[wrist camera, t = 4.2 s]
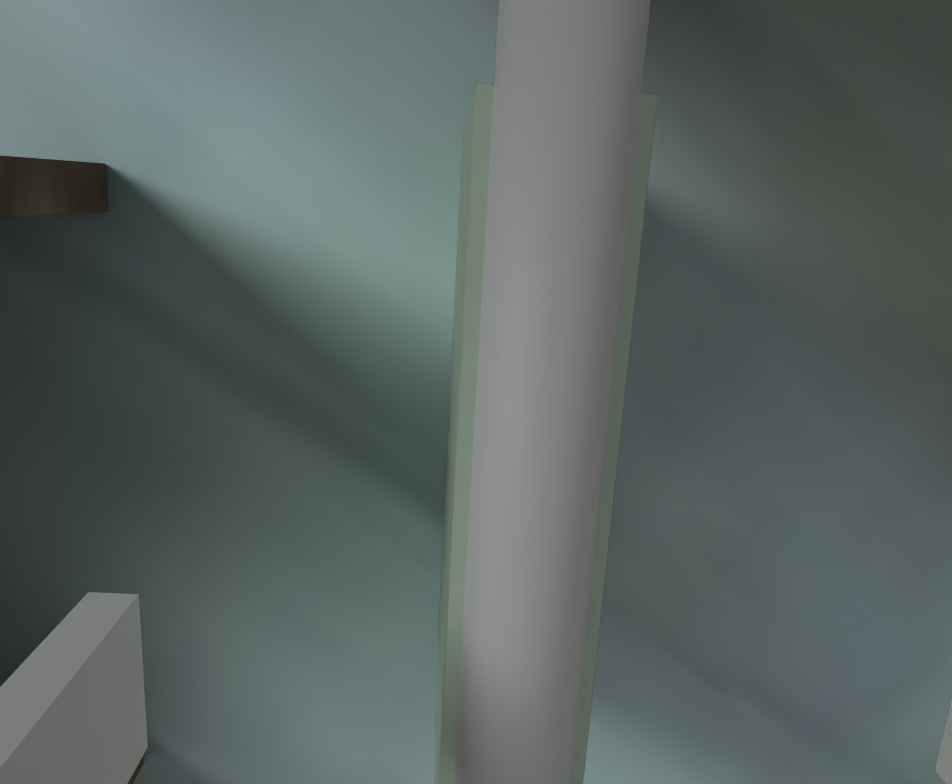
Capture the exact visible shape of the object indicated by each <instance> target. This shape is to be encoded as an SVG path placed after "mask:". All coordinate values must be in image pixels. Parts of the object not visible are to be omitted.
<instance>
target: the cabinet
mask: <svg viewBox="0 0 952 784" xmlns="http://www.w3.org/2000/svg"><path fill="white" fill-rule="evenodd" d="M104 211H108V201H107V185H106V170H105V164H103V163H89V162H76V161H63V160H50V159H37V158H24V157H11V156H0V218H7V217H23V216H39V215H56V214H72V213H88V212H104ZM143 763H144V762H143V757H142V758H141V760H140V762H139V764H138V766H137V767H136V769H135V771H134V773H133V775H132V776H131V778H130V780H129V782H128V784H133V782H134V780H135V778H136V776H137V775H138V773H139V771H140V769H141V767H142V765H143Z"/></svg>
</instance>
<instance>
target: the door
mask: <svg viewBox="0 0 952 784" xmlns="http://www.w3.org/2000/svg"><path fill="white" fill-rule="evenodd" d="M650 4H651V0H499V7H498V24H497V41H496V59H495V76H494V84H485V83H476V84H475V88H474V92H473V96H472V100H471V104H470V108H469V112H468V116H467V120H466V124H465V128H464V132H463V136H462V154H461V174H460V195H459V215H458V236H457V257H456V277H455V298H454V319H453V339H452V360H451V381H450V401H449V422H448V443H447V463H446V484H445V504H444V525H443V546H442V566H441V587H440V608H439V630H438V672H437V714H436V756H435V784H583V778H584V769H585V760H586V750H587V741H588V732H589V723H590V713H591V704H592V695H593V686H594V676H595V667H596V658H597V649H598V639H599V630H600V621H601V612H602V602H603V593H604V584H605V575H606V565H607V556H608V547H609V538H610V528H611V519H612V510H613V501H614V491H615V482H616V473H617V464H618V454H619V445H620V436H621V427H622V417H623V408H624V399H625V390H626V380H627V371H628V362H629V353H630V343H631V334H632V325H633V316H634V306H635V297H636V288H637V279H638V269H639V260H640V251H641V242H642V232H643V223H644V214H645V205H646V195H647V186H648V177H649V168H650V158H651V149H652V140H653V131H654V121H655V112H656V103H657V95H656V94H641V91H642V82H643V72H644V62H645V52H646V43H647V33H648V23H649V14H650Z"/></svg>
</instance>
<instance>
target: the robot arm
mask: <svg viewBox="0 0 952 784" xmlns="http://www.w3.org/2000/svg"><path fill="white" fill-rule="evenodd" d="M147 748H148V741H147V724H146V707H145V690H144V673H143V655H142V638H141V621H140V604H139V594H123V593H96V592H88V593H87V594H86V595H85V596H84V597H83V598H82V600H81V601H80V602H79V603H78V604H77V605H76V606H75V607H74V608H73V609H72V610H71V611H70V612H69V614H68V615H67V616H66V617H65V618H64V619H63V620H62V621H61V622H60V623H59V624H58V625H57V626H56V628H55V629H54V630H53V631H52V632H51V633H50V634H49V635H48V636H47V637H46V638H45V639H44V640H43V641H42V643H41V644H40V645H39V646H38V647H37V648H36V649H35V650H34V651H33V652H32V653H31V654H30V655H29V657H28V658H27V659H26V660H25V661H24V662H23V663H22V664H21V665H20V666H19V667H18V668H17V669H16V671H15V672H14V673H13V674H12V675H11V676H10V677H9V678H8V679H7V680H6V681H5V682H4V683H3V685H2V686H1V687H0V784H128V782H129V780H130V778H131V776H132V775H133V773H134V771H135V769H136V767H137V766H138V764H139V762H140V760H141V758H142V757H143V755H144V753H145V751H146V750H147ZM935 771H936V772H937V773H938V775H939V776H940V777H941V778H942V779H943V781H944V782H945V783H946V784H952V700H951V704H950V708H949V712H948V717H947V721H946V725H945V729H944V733H943V738H942V742H941V746H940V750H939V754H938V759H937V763H936V767H935Z"/></svg>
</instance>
